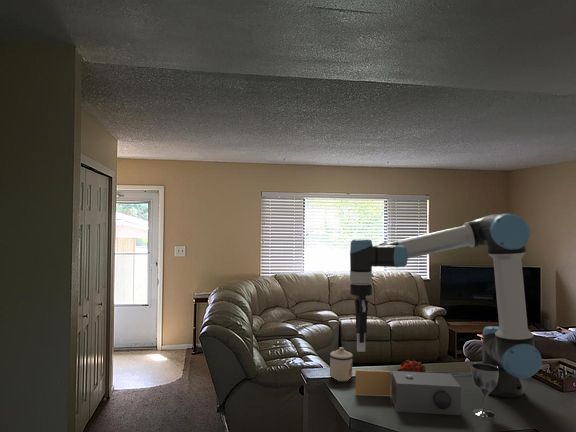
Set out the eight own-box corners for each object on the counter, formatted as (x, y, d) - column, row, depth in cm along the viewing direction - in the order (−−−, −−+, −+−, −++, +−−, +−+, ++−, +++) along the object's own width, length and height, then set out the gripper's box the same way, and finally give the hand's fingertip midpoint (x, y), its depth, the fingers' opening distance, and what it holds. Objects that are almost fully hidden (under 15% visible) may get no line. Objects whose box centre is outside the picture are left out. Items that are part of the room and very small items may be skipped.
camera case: (450, 399, 150) (450, 372, 150) (462, 417, 137) (462, 386, 137) (390, 396, 152) (391, 369, 152) (397, 413, 138) (397, 383, 139)
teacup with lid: (354, 382, 165) (354, 351, 166) (330, 381, 165) (331, 350, 165) (349, 371, 177) (350, 342, 178) (327, 370, 177) (327, 342, 177)
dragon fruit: (428, 385, 168) (398, 390, 167) (419, 366, 175) (391, 371, 174) (432, 372, 163) (401, 377, 162) (422, 353, 170) (393, 358, 169)
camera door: (389, 393, 153) (389, 370, 154) (390, 395, 152) (390, 371, 152) (355, 392, 154) (355, 369, 154) (355, 394, 153) (356, 370, 153)
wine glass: (496, 411, 142) (497, 364, 142) (499, 421, 134) (500, 372, 135) (470, 407, 145) (470, 361, 145) (472, 417, 137) (472, 369, 137)
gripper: (375, 286, 146) (375, 356, 146) (368, 280, 159) (368, 345, 159) (353, 286, 146) (353, 356, 146) (347, 280, 159) (347, 345, 159)
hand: (361, 351), depth 152 cm, fingers closed
